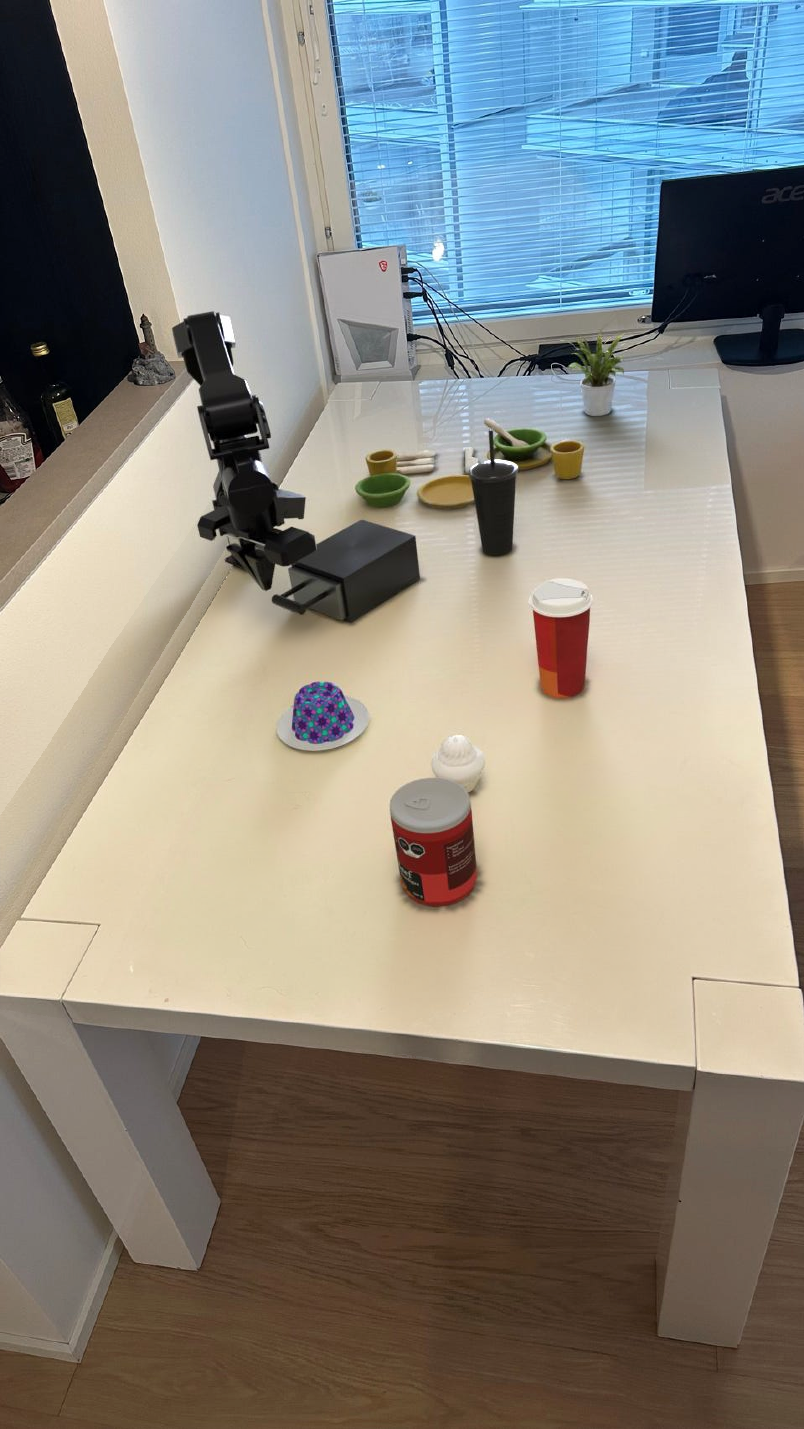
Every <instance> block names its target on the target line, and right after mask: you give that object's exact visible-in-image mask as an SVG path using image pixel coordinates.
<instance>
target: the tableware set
mask: <svg viewBox="0 0 804 1429" xmlns="http://www.w3.org/2000/svg"><path fill="white" fill-rule="evenodd" d="M483 424H484V425H485V426H486V427H487V428H489V429H493V432H495V433H496V434H497V435H495V436H494V437H493V439H494V457H495V459H499V460H504V461H509V462H512V463H514V464H516V465H517V467H518V471H523V470H530V469H534V468H537V467H540V466H543V465H545V464H546V463H548V462H549V461H550V460H551V461H552V465H553V471H554V475H555V477H556V478H558V479H561V480H570V479H575V478H577V477H579V476H580V475H581V472H582V467H583V466H582V465H583V459H584V452H585V445H584V443H583V442H581V441H578V440H571V439H569V438H565V439H563V440H562V441H560V442H557V443H553V444H552V443H550V442H548V441H547V438H548V437H547V434H546V433H545V432H543V431H542V430H539V429H536V428H528V427H527V428H525V427H524V428H523V427H521V428H513V429H508V430H506V429H504V428H503V427H502V426H501V425H500V424H499V423H497V422H496V421H495V420H494V419H492V418H489V417H488V418H487V417H486V418H485V419H484V421H483ZM464 452H465V453H464V454H465V455H464V456H465V457H464V458H465V460H464V461H465V464H464V466H465V467H464V469H465V470H464V471H465V474H454V475H453V474H452V475H444V476H442V477H437V478H433V479H431V480H429V481H427V482H424V483H423V484H422V485H421V486H420V487H418V489H417V491H416V495H417V498H418V499H419V500H420V501H421V502H423V503H424V504H425V505H426V506H429V507H432V508H436V509H458V508H463V507H467V506H471V505H473V504H475V501H474V495H473V489H472V483H471V478H470V477H469V475H468V471H469V469H470V468H471V467H472V466H474V465H476V464H478V463H479V459H478V457H477V458H476V457H473V455H474V447H472V446H468V447H466V448H465V451H464ZM435 456H436V452H435V451H433V450H420V451H417V452H415V453H410V454H398V452H397V451H395V450H393V449H379V450H374V451H371V452H369V453H368V454H367V455H366V456H365V458H364V459H365V462H366V466H367V469H368V472H369V475H370V476H367V477H365V478H363V479H361V480H359V481H358V482H357V483H356V485H355V487H354V490H355V492H356V494H357V495H358V496H360V497H361V499H363V500H364V501H365V502H366V504H367V505H368V506H370V507H372V508H375V509H376V508H377V509H386V508H390V507H391V508H392V507H394V506H396V505H398V504H399V503H400V502H402V500H403V498H404V496H405V494H406V492H407V490H408V489H410V486H411V479H410V478H409V477H408V476H406V475H409V474H419V473H420V474H421V473H430V472H433V471H434V469H435V464H434V463H435ZM486 458H487V460H490V449H488V451H487V453H486Z"/></svg>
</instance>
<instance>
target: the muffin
mask: <svg viewBox="0 0 804 1429" xmlns="http://www.w3.org/2000/svg"><path fill="white" fill-rule="evenodd" d="M430 761H431V762H430V766H431V770H432V772H433V774H434V776H435V778H444V779H448V780H451V781H454V782H456V783H458V784H459V785H461V786H462V787H463V788H464V789H465V790H466V791H467V793H468V794H469V793H471V792H472V791H473V789H474V788H475V787H476V785H477V784H478V781H479V780H480V778H481V776H482V775H483V770H484V769H485V766H486V759H485V756H484V753H483V752H482V750H480V749H479V748H478V747H477V746H475V745H474V744H473V743H472V741H471V740H470V738H468V737H467V736H464V735H461V734H456V735H455V734H452V735H451V736H448V737H447V738H445V739H443V742H442V743H441V744H440V748H439V749H438V750H437V751H436V752H435V753H434V755H433V756H432V758H431V760H430Z"/></svg>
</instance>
